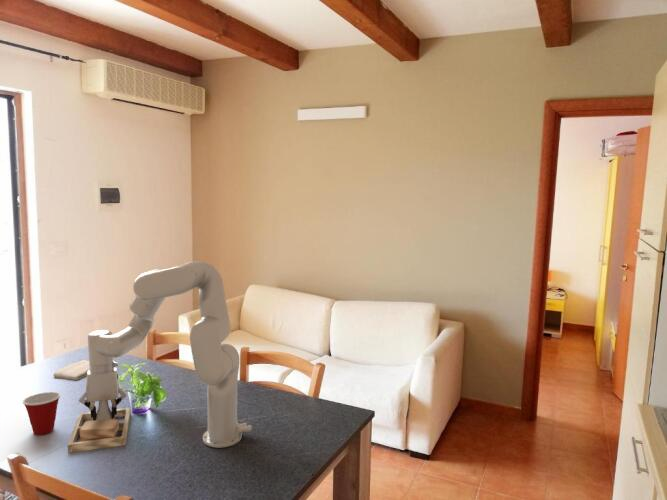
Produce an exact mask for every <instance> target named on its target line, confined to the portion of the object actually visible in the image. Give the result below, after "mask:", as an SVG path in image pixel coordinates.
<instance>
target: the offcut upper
mask: <svg viewBox="0 0 667 500" xmlns="http://www.w3.org/2000/svg"><path fill="white" fill-rule="evenodd" d="M119 422H120V419H115V420H94V421H93V420H89V421H84V423H83V424H82V426H81V427H82V428H81V429H80V435H79V436H80V437H79V440H80V439H89V438H109V437H114V436H115V434H116V432H117V431H118V429H119ZM118 432H119V431H118Z"/></svg>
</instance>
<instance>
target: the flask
mask: <svg viewBox="0 0 667 500" xmlns="http://www.w3.org/2000/svg"><path fill="white" fill-rule="evenodd" d="M97 407H98V408H97V409H96V411H97V413H96V420H116V419H115V418H114V419H112V412H111V408H110V406H109V400H104V401H98V406H97Z"/></svg>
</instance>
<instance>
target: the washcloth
mask: <svg viewBox="0 0 667 500" xmlns="http://www.w3.org/2000/svg"><path fill="white" fill-rule="evenodd" d="M88 371H89V359H88V360H87V359H82V360H80V361H78V362H73V363H71V364H69V365H67V366H65V367H63V368H60V369H58V370H56V371H55V372H54V373H53V377H54V378H57V379H65V380H72V381H78V380H81V379H83V378H85V377H87V373H88Z"/></svg>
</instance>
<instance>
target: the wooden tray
mask: <svg viewBox="0 0 667 500" xmlns="http://www.w3.org/2000/svg"><path fill="white" fill-rule="evenodd" d="M111 412H112V411H111ZM96 413H97V410H96ZM123 417H124V420H123V421H119V429H118V432H119V431H122V432H121V436H117V437H113V438H105V439H97V440H89V441H81V442H80V441H77V439H78V438H79V436H80V429H81V428H82V426H83V424H84V423H83V422H86V421H93V418H91V411H87V412H80V413H79V414H78V416H77V418H76V421H75V425H74V427H73V429H72V432H71V434H70V438H69V441H68V443H67V453H75V452H77V453H78V452H83V451H84V452H85V451H90V450H97V449H98V450H99V449H105V448H106V449H107V448H116V447H121V446H127V445H126V444H127V439H128V438H127V437H128V433H129V432H128V431H129V425H130V419H131V407H125V408H124V407H122V408H117V415H115V417H114V419H115V418H123Z"/></svg>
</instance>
